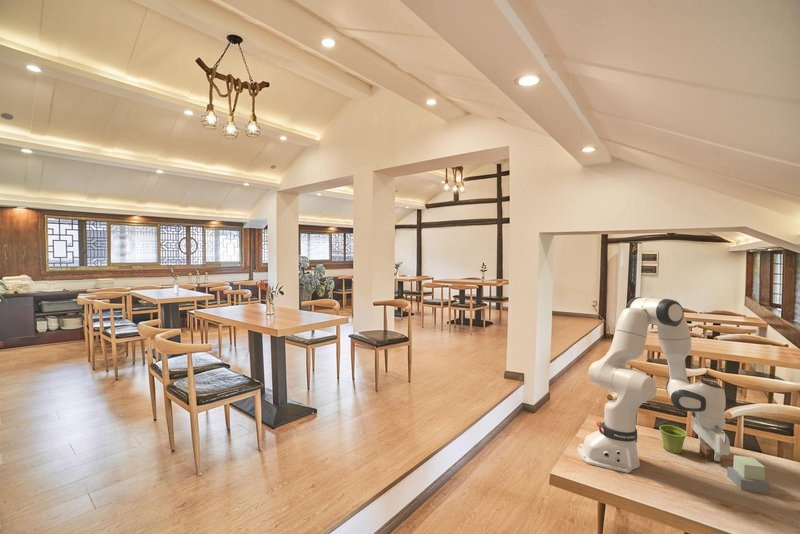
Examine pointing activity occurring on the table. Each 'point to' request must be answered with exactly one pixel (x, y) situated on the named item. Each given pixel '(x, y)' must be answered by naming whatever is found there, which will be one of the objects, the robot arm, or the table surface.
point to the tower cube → (749, 468)
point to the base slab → (747, 482)
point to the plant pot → (672, 438)
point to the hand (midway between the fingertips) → (709, 453)
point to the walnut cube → (707, 452)
